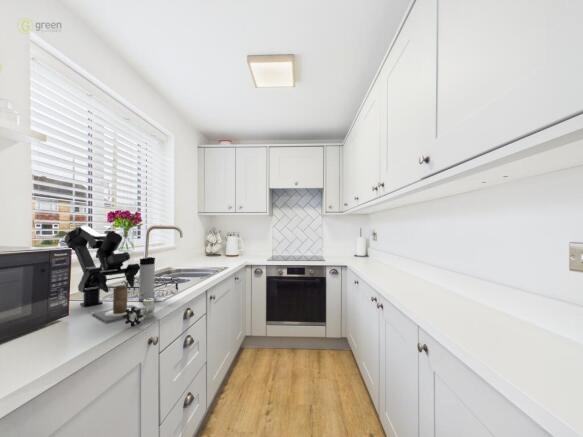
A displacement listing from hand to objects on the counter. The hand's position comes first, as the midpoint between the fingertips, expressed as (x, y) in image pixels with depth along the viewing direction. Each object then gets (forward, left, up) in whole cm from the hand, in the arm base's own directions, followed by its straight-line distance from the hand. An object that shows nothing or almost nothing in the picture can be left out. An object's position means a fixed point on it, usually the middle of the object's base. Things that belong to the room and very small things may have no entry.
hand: (120, 289), depth 105 cm
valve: (+14, +2, -10) cm, 17 cm away
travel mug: (-13, +16, -10) cm, 23 cm away
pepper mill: (0, 0, -9) cm, 9 cm away
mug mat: (0, 0, -10) cm, 10 cm away
